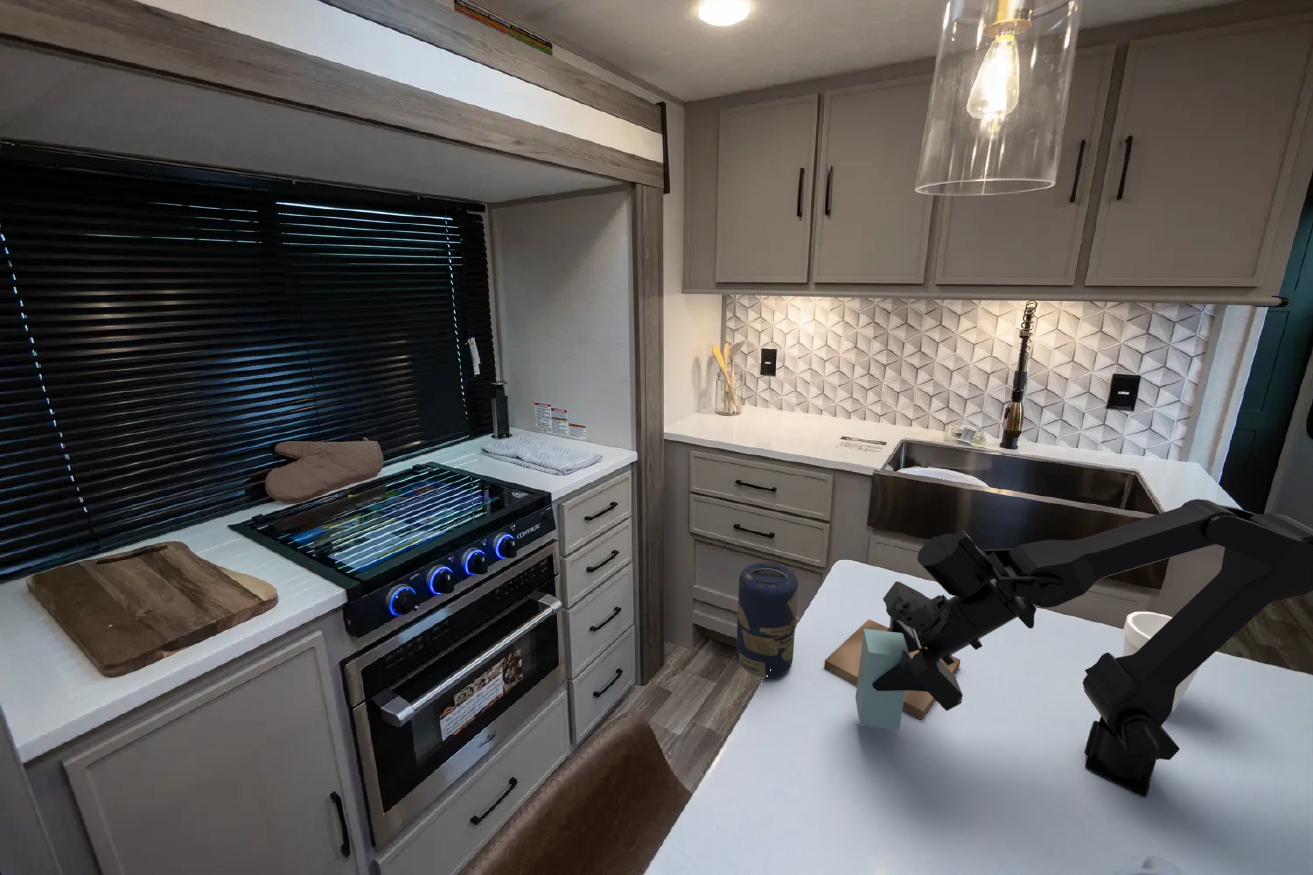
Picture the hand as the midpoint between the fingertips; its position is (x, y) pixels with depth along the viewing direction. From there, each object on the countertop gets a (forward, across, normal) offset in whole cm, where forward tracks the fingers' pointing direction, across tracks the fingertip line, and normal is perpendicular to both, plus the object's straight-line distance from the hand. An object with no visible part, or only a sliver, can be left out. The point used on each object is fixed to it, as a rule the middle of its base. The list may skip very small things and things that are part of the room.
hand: (871, 673), depth 80 cm
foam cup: (-23, -15, +38) cm, 47 cm away
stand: (+3, -15, +11) cm, 19 cm away
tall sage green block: (+4, 0, +6) cm, 7 cm away
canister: (+18, -12, -3) cm, 21 cm away
